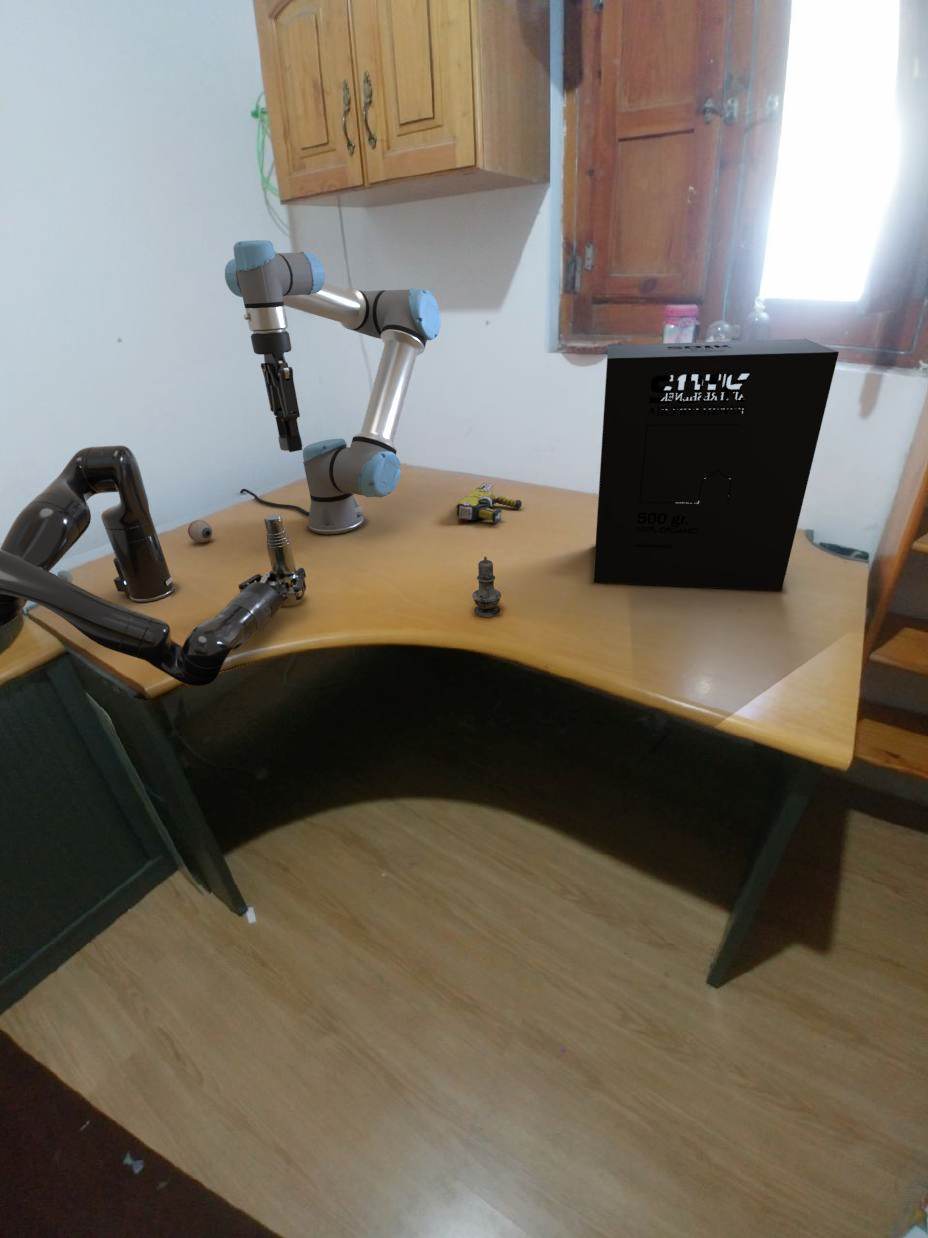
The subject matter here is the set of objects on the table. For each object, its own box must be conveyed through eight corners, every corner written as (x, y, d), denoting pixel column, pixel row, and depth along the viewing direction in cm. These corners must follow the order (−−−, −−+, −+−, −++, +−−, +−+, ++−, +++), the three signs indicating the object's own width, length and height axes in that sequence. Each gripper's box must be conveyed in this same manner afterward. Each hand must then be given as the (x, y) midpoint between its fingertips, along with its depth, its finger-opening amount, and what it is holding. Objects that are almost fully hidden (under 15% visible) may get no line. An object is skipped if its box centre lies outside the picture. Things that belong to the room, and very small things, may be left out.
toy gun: (529, 487, 179) (482, 480, 183) (508, 512, 159) (455, 503, 163) (528, 503, 181) (481, 495, 185) (506, 528, 161) (454, 519, 165)
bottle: (302, 604, 129) (283, 519, 119) (279, 608, 128) (259, 522, 119) (302, 595, 133) (284, 511, 123) (280, 598, 132) (260, 514, 123)
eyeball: (201, 547, 160) (195, 526, 157) (186, 543, 163) (180, 522, 160) (220, 539, 164) (214, 518, 161) (205, 536, 167) (199, 515, 164)
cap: (286, 445, 135) (283, 433, 133) (305, 445, 134) (303, 433, 133) (276, 450, 131) (274, 438, 129) (297, 450, 130) (294, 438, 129)
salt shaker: (499, 618, 119) (498, 563, 113) (470, 616, 121) (467, 562, 115) (503, 604, 124) (502, 550, 118) (475, 602, 125) (473, 549, 119)
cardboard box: (760, 550, 140) (805, 338, 118) (781, 591, 123) (838, 351, 101) (595, 545, 148) (608, 345, 125) (593, 582, 131) (607, 358, 108)
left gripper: (223, 623, 119) (265, 585, 133) (289, 628, 116) (325, 588, 130) (213, 590, 115) (257, 553, 130) (281, 594, 112) (319, 556, 127)
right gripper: (238, 331, 126) (263, 444, 137) (263, 335, 113) (288, 459, 124) (274, 327, 129) (294, 438, 141) (302, 331, 116) (322, 452, 128)
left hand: (291, 571), depth 130 cm, fingers closed on bottle, 4 cm apart
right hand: (291, 448), depth 132 cm, fingers closed on cap, 5 cm apart
